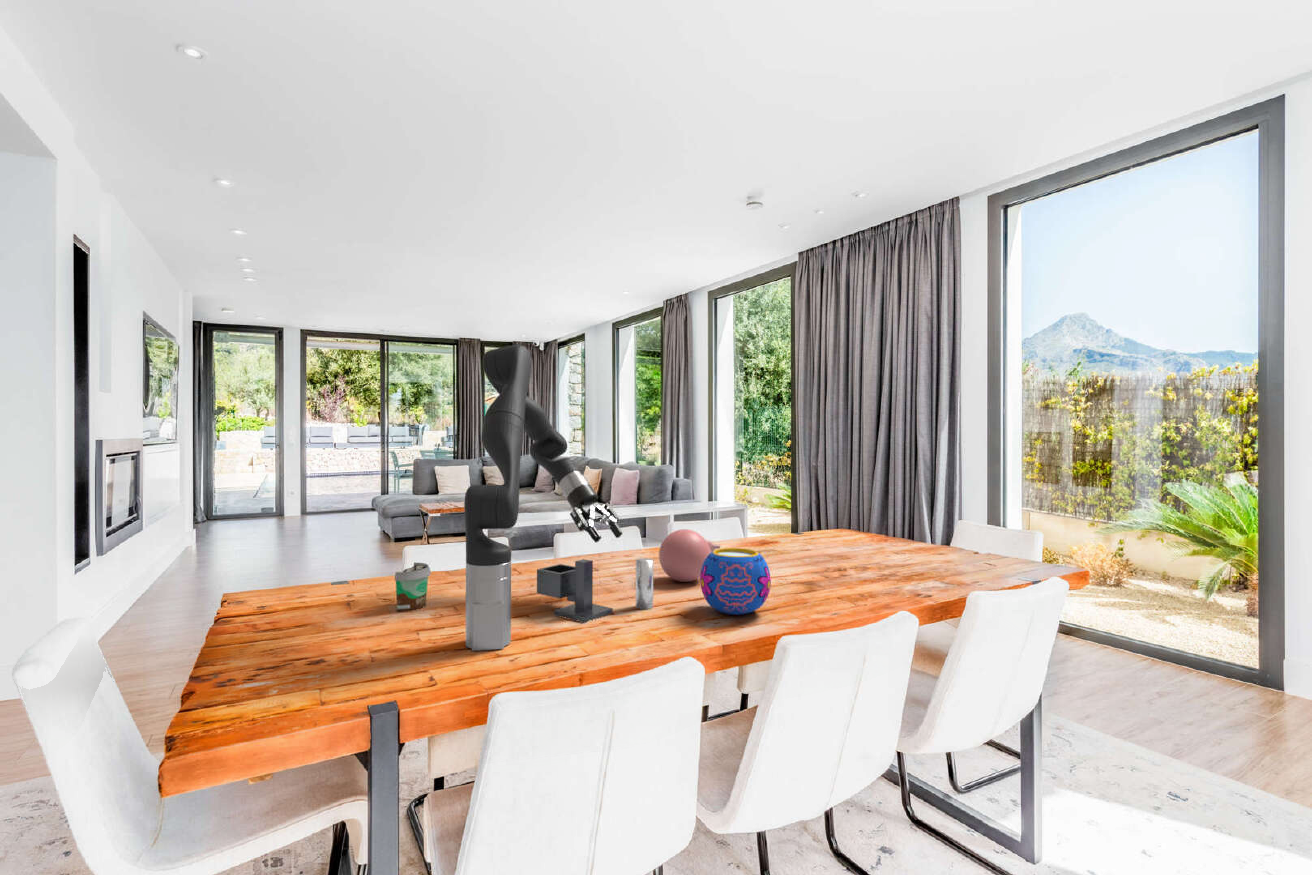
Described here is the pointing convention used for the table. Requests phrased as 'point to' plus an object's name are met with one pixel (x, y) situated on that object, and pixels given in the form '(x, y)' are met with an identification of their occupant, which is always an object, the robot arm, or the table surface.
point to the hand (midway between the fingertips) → (609, 538)
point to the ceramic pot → (735, 580)
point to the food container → (412, 587)
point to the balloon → (684, 554)
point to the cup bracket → (572, 589)
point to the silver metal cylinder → (644, 583)
